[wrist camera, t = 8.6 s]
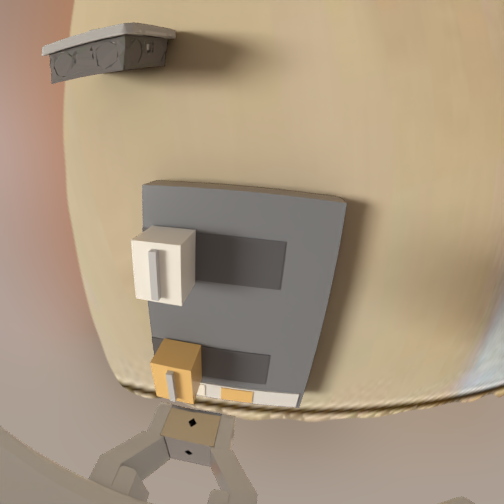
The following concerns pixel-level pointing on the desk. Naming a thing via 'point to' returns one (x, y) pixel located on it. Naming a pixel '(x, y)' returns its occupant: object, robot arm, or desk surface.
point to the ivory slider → (164, 264)
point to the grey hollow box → (108, 50)
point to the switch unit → (249, 284)
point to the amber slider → (177, 370)
